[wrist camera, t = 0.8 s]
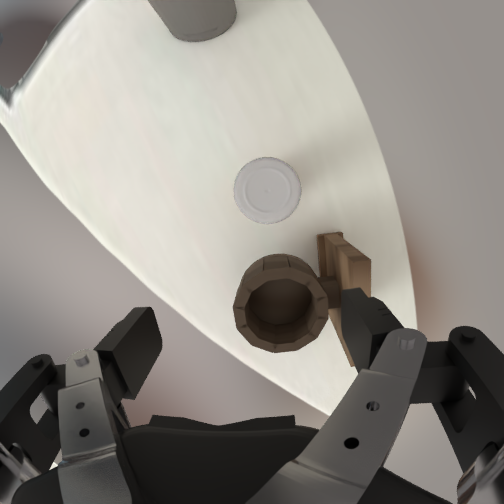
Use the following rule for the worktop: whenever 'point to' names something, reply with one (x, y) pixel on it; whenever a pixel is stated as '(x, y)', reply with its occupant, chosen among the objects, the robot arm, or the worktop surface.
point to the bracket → (298, 295)
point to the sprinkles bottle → (267, 190)
